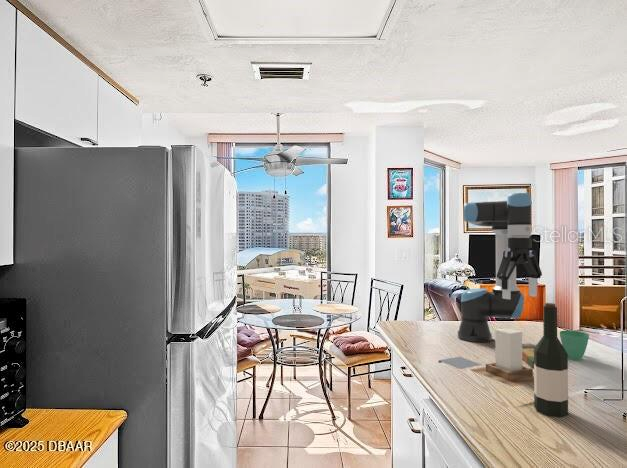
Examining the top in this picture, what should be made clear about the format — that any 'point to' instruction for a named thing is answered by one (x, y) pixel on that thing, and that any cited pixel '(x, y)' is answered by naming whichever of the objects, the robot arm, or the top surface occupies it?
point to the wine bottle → (550, 369)
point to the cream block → (508, 349)
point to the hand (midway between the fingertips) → (520, 297)
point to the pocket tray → (507, 374)
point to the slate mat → (459, 362)
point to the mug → (574, 343)
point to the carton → (528, 357)
